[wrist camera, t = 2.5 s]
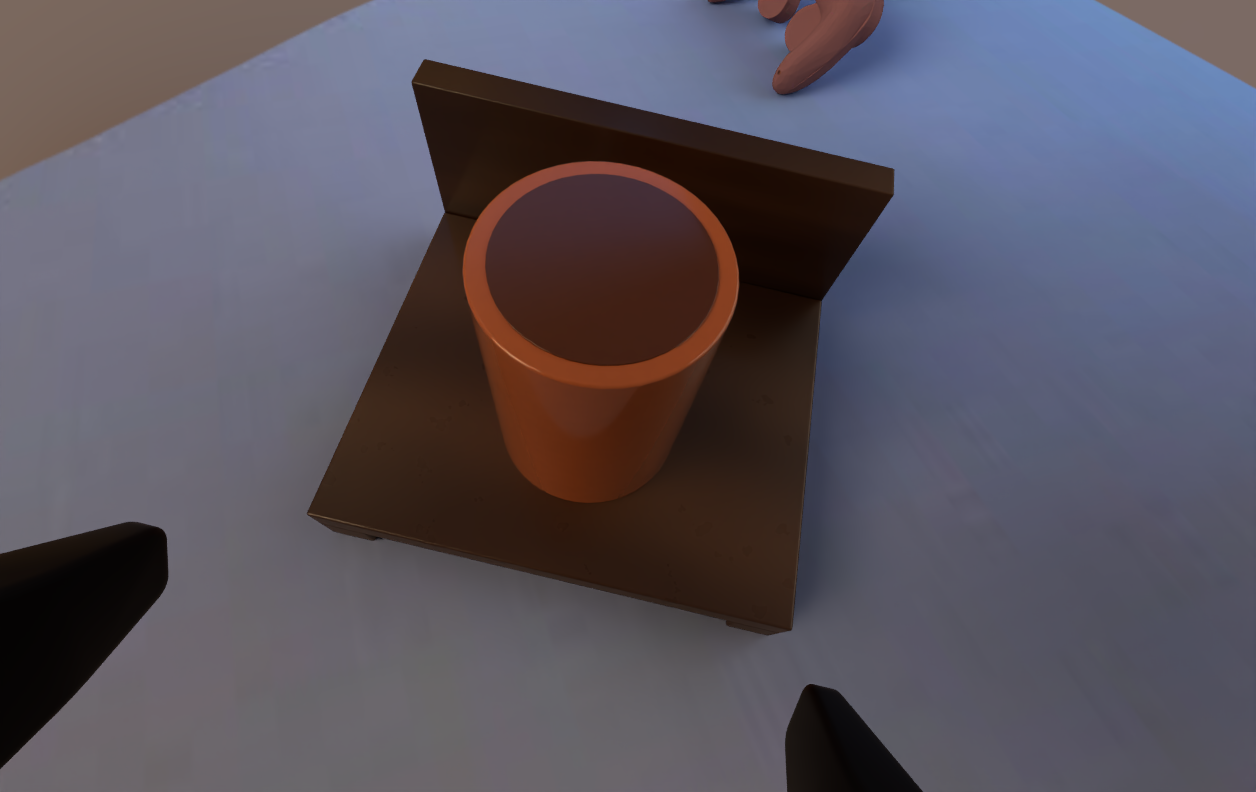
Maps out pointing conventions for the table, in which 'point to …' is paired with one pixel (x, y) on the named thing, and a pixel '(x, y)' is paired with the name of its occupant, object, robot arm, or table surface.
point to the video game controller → (818, 36)
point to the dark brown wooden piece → (718, 418)
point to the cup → (596, 320)
